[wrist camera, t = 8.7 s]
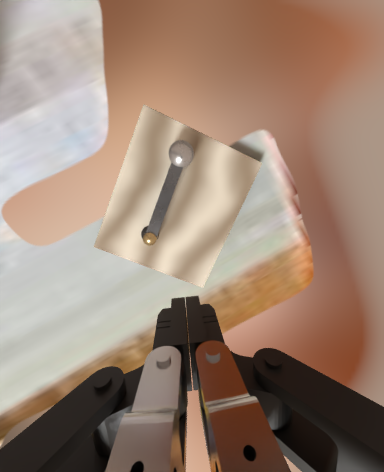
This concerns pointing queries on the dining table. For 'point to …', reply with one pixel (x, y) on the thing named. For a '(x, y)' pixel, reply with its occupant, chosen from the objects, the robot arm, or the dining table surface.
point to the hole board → (176, 199)
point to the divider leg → (169, 187)
